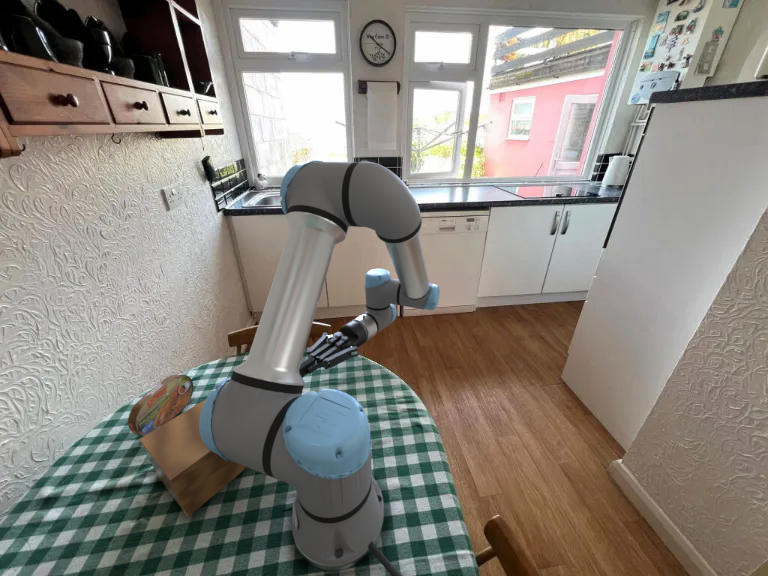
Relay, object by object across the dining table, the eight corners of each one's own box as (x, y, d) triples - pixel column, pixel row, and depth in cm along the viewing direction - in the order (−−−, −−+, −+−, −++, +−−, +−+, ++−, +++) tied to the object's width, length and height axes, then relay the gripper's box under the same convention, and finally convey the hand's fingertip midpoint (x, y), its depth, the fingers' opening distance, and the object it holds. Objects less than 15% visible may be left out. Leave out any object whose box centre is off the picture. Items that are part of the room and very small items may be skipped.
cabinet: (230, 423, 70) (220, 390, 66) (264, 453, 64) (254, 418, 59) (157, 474, 60) (139, 439, 56) (187, 517, 53) (170, 480, 49)
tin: (146, 445, 66) (131, 416, 62) (133, 443, 66) (118, 414, 63) (198, 394, 79) (188, 367, 75) (187, 392, 79) (177, 366, 76)
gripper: (340, 314, 93) (273, 353, 76) (375, 327, 86) (309, 375, 69) (342, 335, 96) (278, 377, 79) (376, 350, 89) (313, 400, 72)
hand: (293, 376), depth 74 cm, fingers closed
